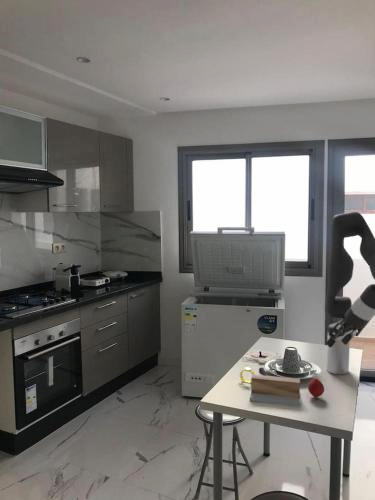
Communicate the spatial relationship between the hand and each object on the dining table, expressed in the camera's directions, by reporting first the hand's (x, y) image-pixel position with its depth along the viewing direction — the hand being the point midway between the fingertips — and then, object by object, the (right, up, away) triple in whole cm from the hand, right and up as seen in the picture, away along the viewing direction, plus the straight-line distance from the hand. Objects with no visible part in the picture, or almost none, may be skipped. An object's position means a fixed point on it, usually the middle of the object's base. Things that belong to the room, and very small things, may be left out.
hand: (336, 344), depth 153 cm
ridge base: (-20, -22, +11) cm, 32 cm away
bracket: (-19, -21, +29) cm, 41 cm away
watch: (-28, -21, +24) cm, 43 cm away
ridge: (-20, -21, +11) cm, 31 cm away
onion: (-4, -23, +10) cm, 25 cm away
